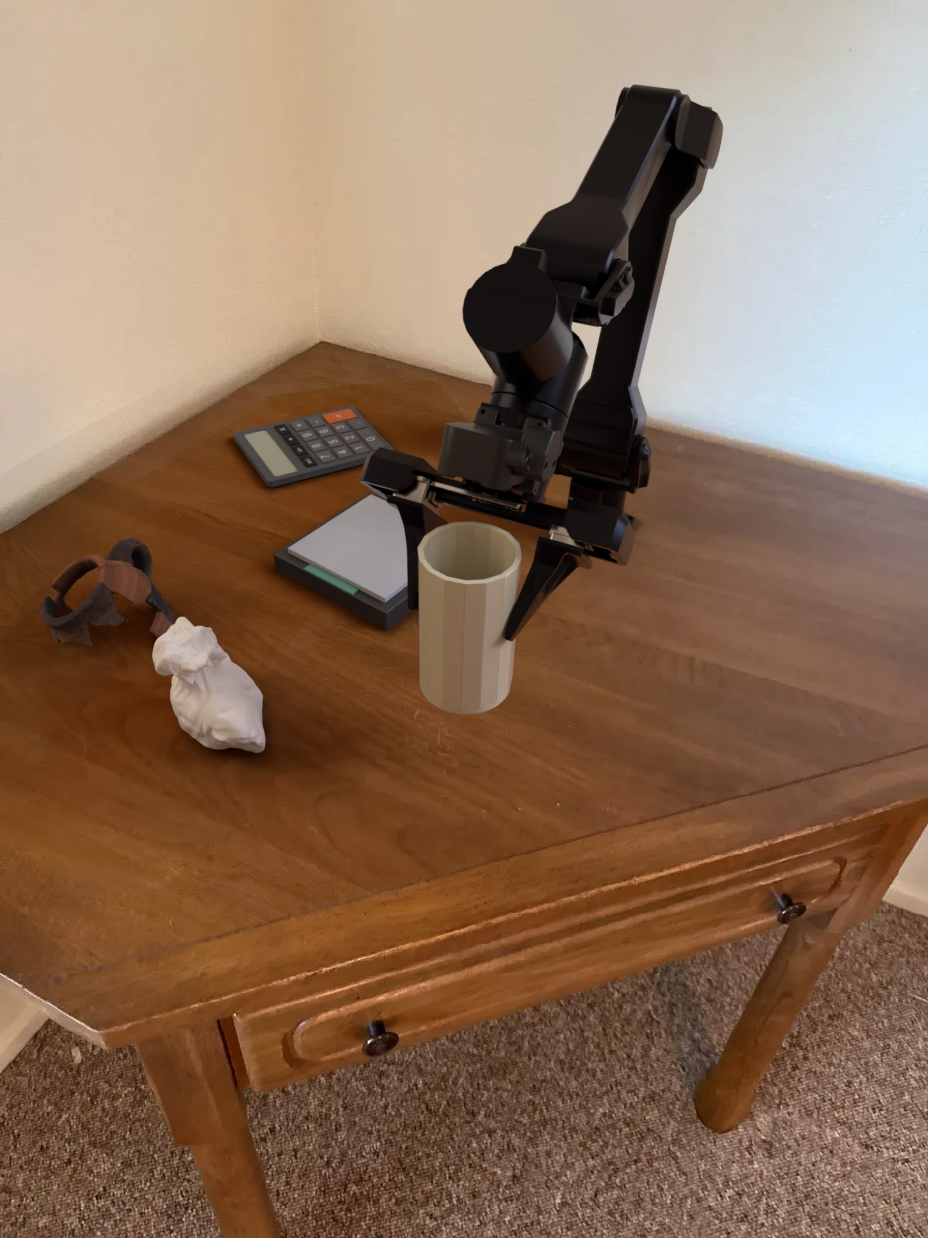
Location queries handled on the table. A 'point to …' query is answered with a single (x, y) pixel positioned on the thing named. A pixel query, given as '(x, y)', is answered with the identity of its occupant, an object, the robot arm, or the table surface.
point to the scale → (354, 560)
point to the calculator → (310, 445)
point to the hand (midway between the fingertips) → (459, 624)
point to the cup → (466, 615)
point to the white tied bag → (209, 689)
